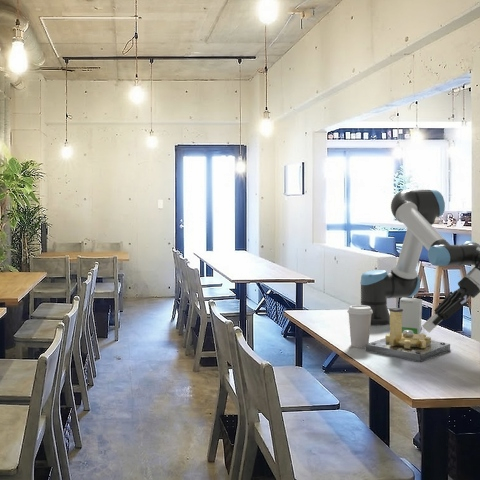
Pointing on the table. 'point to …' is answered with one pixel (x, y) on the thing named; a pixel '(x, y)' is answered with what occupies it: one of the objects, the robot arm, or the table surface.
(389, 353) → the steel plate
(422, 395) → the table surface
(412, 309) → the skincare box
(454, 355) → the table surface
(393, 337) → the brass gear wheel
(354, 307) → the coffee cup
